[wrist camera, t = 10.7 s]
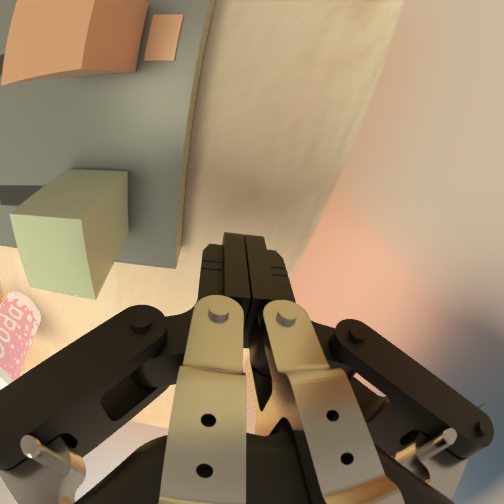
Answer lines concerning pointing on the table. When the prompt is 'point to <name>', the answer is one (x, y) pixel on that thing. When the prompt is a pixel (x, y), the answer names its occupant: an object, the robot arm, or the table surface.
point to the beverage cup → (16, 334)
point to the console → (113, 128)
